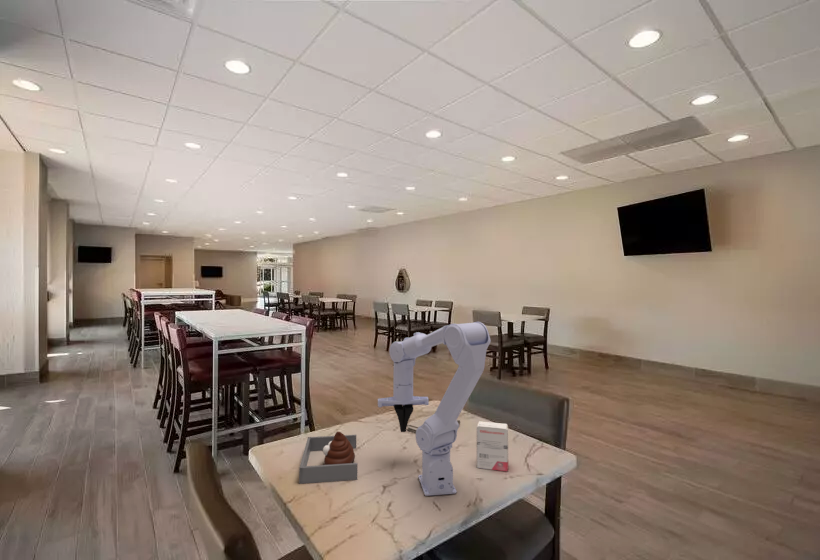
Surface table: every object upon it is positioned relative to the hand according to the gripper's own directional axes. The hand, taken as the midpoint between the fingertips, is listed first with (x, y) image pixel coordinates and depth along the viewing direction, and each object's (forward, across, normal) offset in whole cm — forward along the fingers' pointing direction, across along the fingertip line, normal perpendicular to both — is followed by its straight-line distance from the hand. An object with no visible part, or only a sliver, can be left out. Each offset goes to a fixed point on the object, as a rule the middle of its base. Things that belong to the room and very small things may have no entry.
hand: (403, 430), depth 108 cm
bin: (+9, +20, -3) cm, 22 cm away
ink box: (+10, -25, +5) cm, 27 cm away
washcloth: (+10, -15, -26) cm, 32 cm away
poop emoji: (+10, +18, -3) cm, 21 cm away
